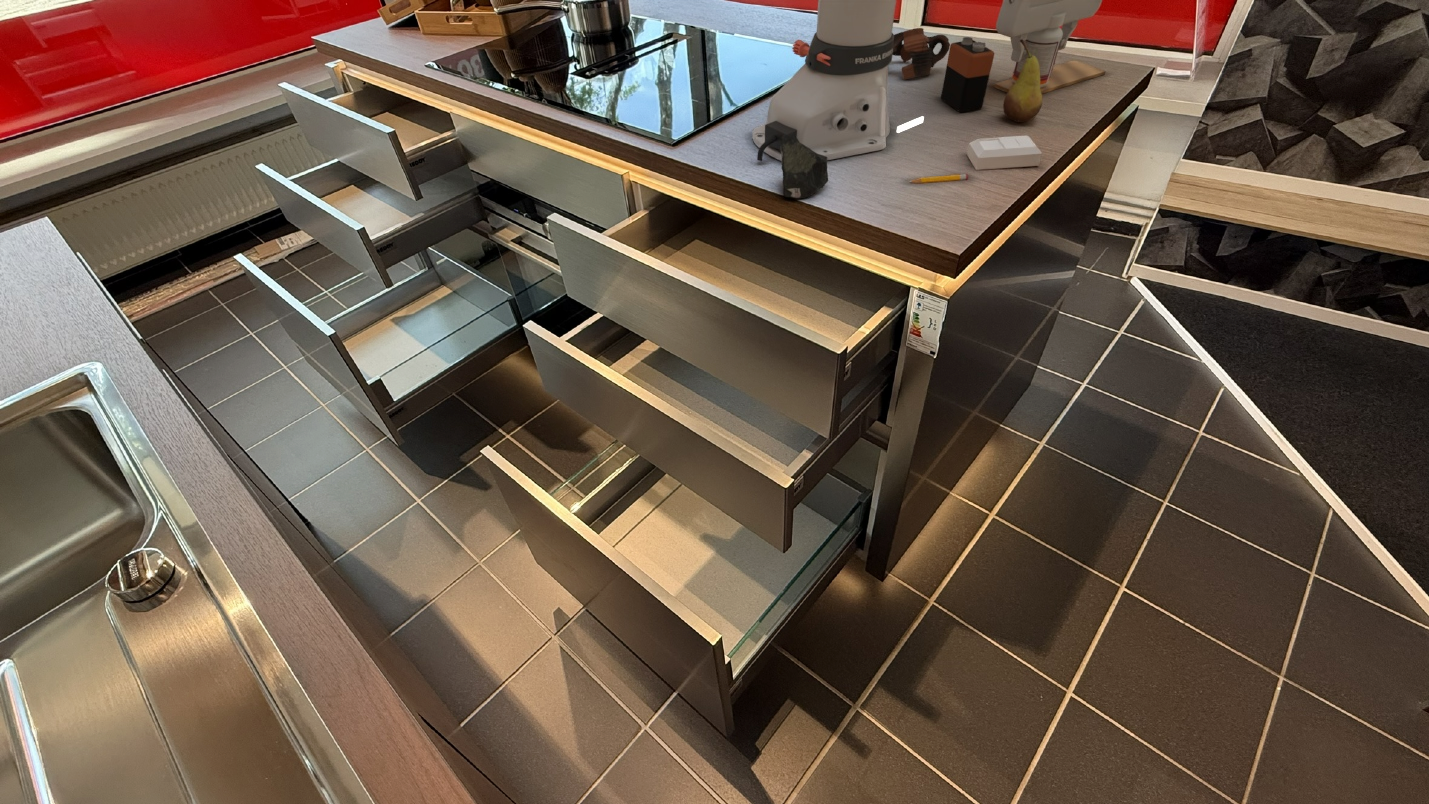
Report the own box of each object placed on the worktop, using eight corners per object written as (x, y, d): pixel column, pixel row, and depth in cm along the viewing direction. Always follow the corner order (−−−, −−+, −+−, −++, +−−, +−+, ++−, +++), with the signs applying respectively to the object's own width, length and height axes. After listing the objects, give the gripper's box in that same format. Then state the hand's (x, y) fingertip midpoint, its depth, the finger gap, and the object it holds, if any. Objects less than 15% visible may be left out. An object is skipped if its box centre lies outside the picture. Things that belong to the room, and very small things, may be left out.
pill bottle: (1024, 74, 123) (1042, 3, 115) (1055, 82, 119) (1076, 11, 111) (1004, 83, 120) (1021, 12, 112) (1035, 92, 117) (1055, 19, 109)
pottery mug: (888, 85, 125) (880, 36, 123) (885, 91, 134) (877, 46, 131) (956, 65, 122) (949, 15, 120) (948, 72, 131) (942, 26, 129)
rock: (831, 132, 95) (825, 150, 100) (781, 131, 95) (778, 150, 100) (831, 193, 93) (826, 209, 98) (781, 193, 94) (778, 208, 98)
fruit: (1022, 130, 108) (1045, 49, 99) (992, 119, 111) (1011, 39, 103) (1044, 120, 110) (1068, 40, 102) (1014, 110, 113) (1035, 31, 105)
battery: (959, 113, 113) (973, 49, 106) (939, 99, 118) (950, 36, 111) (983, 109, 114) (997, 45, 107) (961, 95, 119) (974, 33, 112)
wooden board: (1023, 99, 116) (1024, 95, 116) (993, 87, 121) (994, 83, 120) (1104, 74, 123) (1106, 70, 122) (1073, 63, 127) (1074, 59, 127)
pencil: (969, 177, 97) (967, 173, 97) (909, 181, 97) (908, 177, 97) (967, 180, 98) (965, 176, 98) (908, 185, 98) (907, 181, 98)
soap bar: (1038, 165, 99) (1043, 147, 97) (976, 169, 99) (979, 152, 97) (1027, 150, 102) (1032, 133, 101) (966, 154, 103) (970, 137, 101)
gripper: (1030, -25, 101) (1006, 73, 111) (1124, -46, 108) (1094, 48, 118) (999, -33, 105) (978, 62, 115) (1091, -53, 112) (1064, 38, 122)
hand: (1037, 54), depth 116 cm, fingers open, 8 cm apart
